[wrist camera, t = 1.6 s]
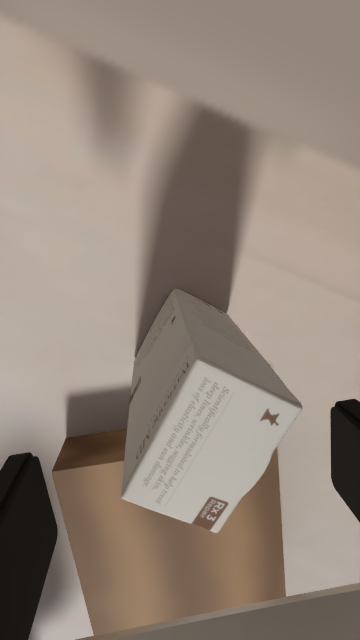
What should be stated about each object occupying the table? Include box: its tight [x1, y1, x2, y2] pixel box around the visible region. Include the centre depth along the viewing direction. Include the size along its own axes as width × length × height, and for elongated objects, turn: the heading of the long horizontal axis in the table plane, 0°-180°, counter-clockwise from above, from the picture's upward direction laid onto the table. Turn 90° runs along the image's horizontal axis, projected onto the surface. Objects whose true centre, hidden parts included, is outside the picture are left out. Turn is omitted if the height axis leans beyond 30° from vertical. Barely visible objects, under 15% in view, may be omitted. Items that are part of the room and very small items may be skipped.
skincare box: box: [121, 288, 302, 533], centre depth 17 cm, size 6×4×12 cm
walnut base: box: [52, 429, 286, 636], centre depth 25 cm, size 14×14×4 cm
